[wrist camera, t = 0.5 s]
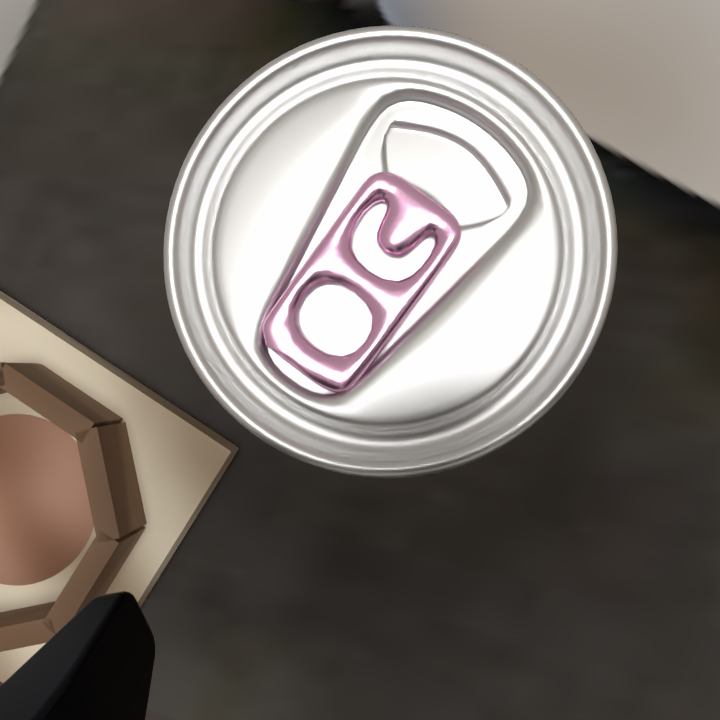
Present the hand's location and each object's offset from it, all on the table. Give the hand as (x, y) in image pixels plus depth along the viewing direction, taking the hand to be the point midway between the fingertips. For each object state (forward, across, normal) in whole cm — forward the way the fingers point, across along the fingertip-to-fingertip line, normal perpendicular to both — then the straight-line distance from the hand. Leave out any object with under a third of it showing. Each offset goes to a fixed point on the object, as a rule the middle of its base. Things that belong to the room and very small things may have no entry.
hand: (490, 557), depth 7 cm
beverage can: (+15, 0, +3) cm, 15 cm away
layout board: (+14, +16, +6) cm, 22 cm away
